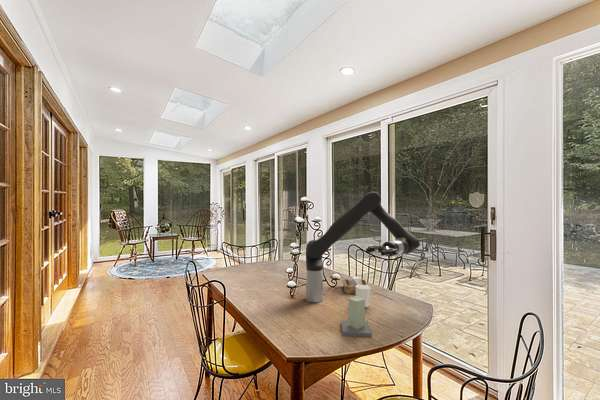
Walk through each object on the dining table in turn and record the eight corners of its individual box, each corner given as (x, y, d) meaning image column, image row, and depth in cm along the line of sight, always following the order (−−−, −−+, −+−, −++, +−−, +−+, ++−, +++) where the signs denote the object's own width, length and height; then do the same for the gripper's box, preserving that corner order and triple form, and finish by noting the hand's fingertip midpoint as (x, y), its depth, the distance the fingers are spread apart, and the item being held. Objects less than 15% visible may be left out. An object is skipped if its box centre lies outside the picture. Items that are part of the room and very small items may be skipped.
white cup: (367, 309, 157) (367, 290, 157) (353, 306, 161) (353, 287, 161) (372, 304, 164) (372, 286, 164) (358, 301, 168) (358, 283, 168)
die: (351, 287, 195) (344, 277, 191) (363, 281, 194) (356, 271, 190) (354, 296, 187) (347, 285, 183) (367, 290, 186) (360, 279, 183)
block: (357, 329, 131) (357, 301, 130) (348, 325, 135) (348, 298, 134) (364, 326, 134) (365, 299, 133) (356, 322, 138) (356, 296, 137)
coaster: (342, 335, 128) (342, 332, 128) (341, 323, 140) (341, 320, 140) (371, 336, 127) (371, 333, 127) (367, 324, 139) (367, 321, 139)
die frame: (345, 293, 182) (345, 286, 182) (343, 285, 197) (343, 278, 197) (368, 294, 181) (369, 286, 181) (365, 286, 196) (365, 279, 196)
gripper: (381, 239, 160) (361, 242, 150) (405, 242, 150) (387, 246, 139) (380, 253, 161) (361, 257, 150) (405, 257, 150) (386, 262, 139)
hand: (373, 252), depth 145 cm, fingers open, 8 cm apart
